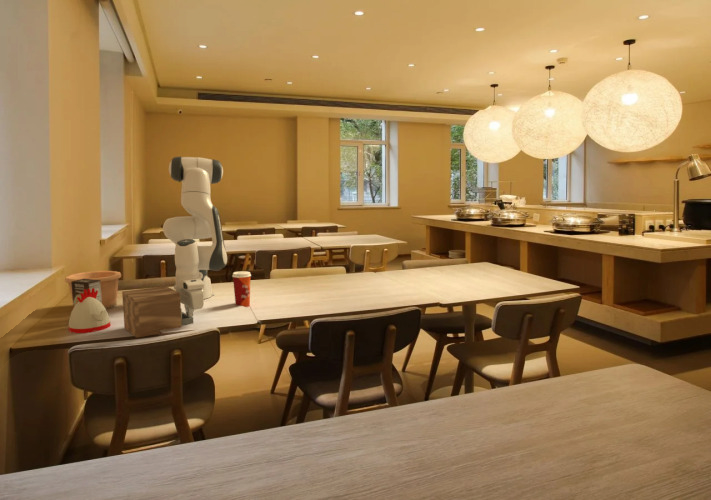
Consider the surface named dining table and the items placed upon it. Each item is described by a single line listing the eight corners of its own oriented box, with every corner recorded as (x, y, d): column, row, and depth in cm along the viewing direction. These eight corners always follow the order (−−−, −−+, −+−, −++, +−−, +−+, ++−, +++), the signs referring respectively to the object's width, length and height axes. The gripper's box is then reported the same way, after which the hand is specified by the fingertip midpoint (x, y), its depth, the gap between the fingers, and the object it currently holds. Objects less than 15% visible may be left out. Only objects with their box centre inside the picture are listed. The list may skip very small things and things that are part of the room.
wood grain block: (124, 327, 186) (122, 291, 184) (167, 320, 196) (165, 285, 194) (136, 337, 174) (134, 299, 172) (181, 329, 184) (179, 292, 182)
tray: (143, 325, 188) (142, 317, 188) (182, 318, 198) (181, 311, 197) (152, 332, 179) (152, 324, 179) (193, 325, 188) (193, 317, 188)
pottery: (73, 303, 226) (71, 272, 224) (126, 299, 233) (124, 269, 231) (61, 314, 206) (58, 281, 204) (119, 310, 213) (117, 277, 211)
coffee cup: (247, 308, 215) (246, 274, 213) (230, 307, 216) (228, 274, 214) (255, 304, 223) (254, 271, 221) (238, 303, 224) (237, 270, 222)
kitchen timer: (118, 325, 190) (115, 286, 188) (86, 335, 178) (83, 294, 176) (93, 321, 196) (90, 284, 194) (60, 330, 184) (57, 291, 182)
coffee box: (73, 320, 197) (69, 281, 195) (86, 316, 203) (83, 278, 201) (90, 322, 194) (87, 282, 192) (104, 318, 200) (101, 279, 198)
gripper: (170, 278, 198) (172, 312, 199) (189, 286, 182) (191, 323, 184) (186, 276, 202) (188, 309, 203) (206, 284, 186) (207, 320, 188)
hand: (189, 316), depth 193 cm, fingers closed, pressing on tray
